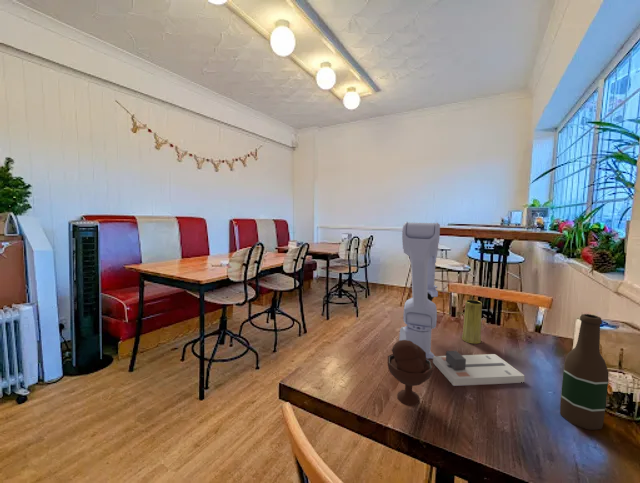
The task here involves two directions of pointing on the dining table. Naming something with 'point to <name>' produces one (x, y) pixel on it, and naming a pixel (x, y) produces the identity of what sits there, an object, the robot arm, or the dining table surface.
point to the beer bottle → (585, 378)
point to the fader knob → (455, 360)
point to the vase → (472, 322)
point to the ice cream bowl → (409, 369)
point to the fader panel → (479, 370)
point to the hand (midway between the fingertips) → (424, 310)
